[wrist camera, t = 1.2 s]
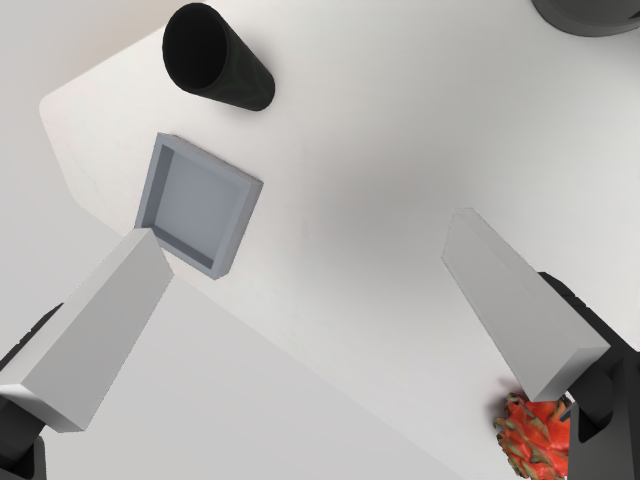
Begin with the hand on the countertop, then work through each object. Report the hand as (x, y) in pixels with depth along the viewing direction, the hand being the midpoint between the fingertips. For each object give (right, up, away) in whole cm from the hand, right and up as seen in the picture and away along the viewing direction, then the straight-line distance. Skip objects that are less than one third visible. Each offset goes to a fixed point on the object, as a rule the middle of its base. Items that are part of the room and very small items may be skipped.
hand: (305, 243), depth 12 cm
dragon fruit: (+28, -22, +24) cm, 43 cm away
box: (-18, +5, +31) cm, 36 cm away
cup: (-8, +21, +25) cm, 33 cm away
